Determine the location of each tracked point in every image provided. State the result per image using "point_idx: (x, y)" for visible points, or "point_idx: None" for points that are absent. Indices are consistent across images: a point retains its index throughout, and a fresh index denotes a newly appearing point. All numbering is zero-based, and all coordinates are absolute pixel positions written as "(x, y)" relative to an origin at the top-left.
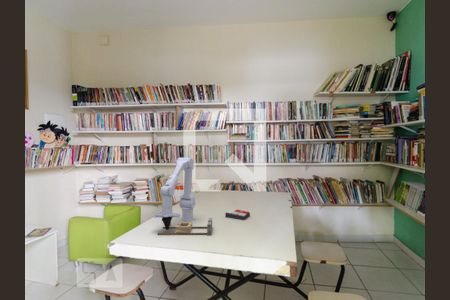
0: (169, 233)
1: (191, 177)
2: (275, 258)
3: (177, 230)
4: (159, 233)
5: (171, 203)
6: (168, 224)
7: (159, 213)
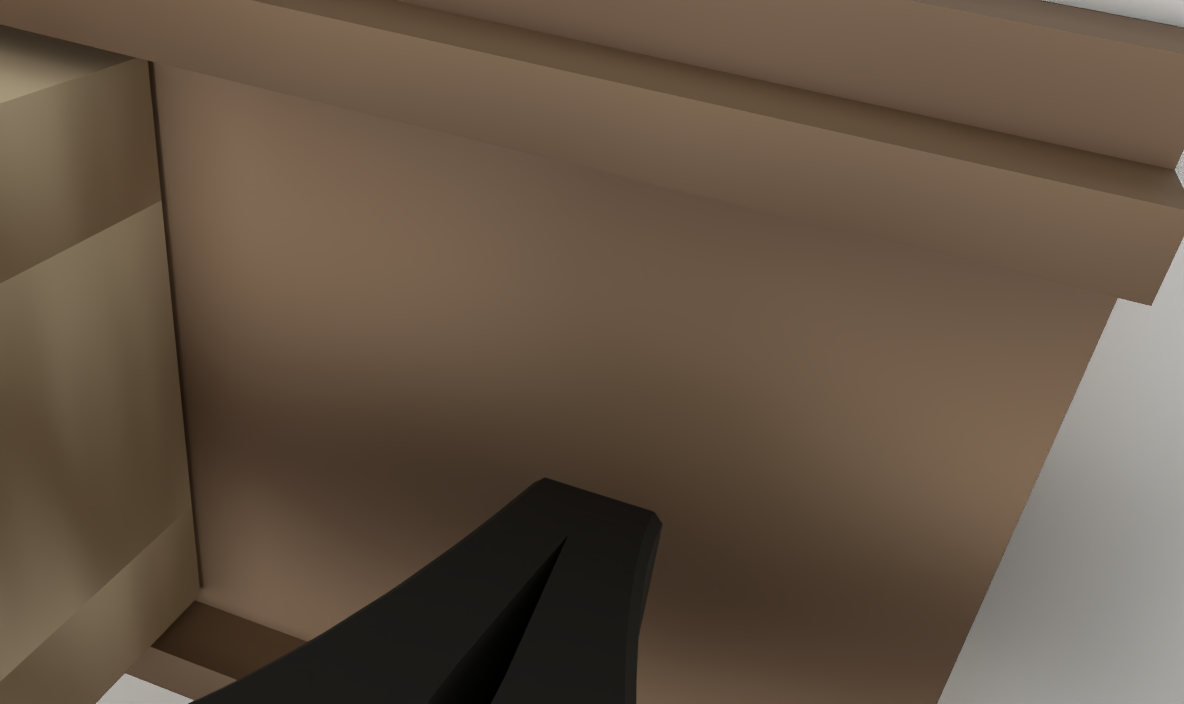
0: (380, 24)
1: None
2: None
3: None
4: (1038, 182)
5: None
6: (304, 662)
7: None
